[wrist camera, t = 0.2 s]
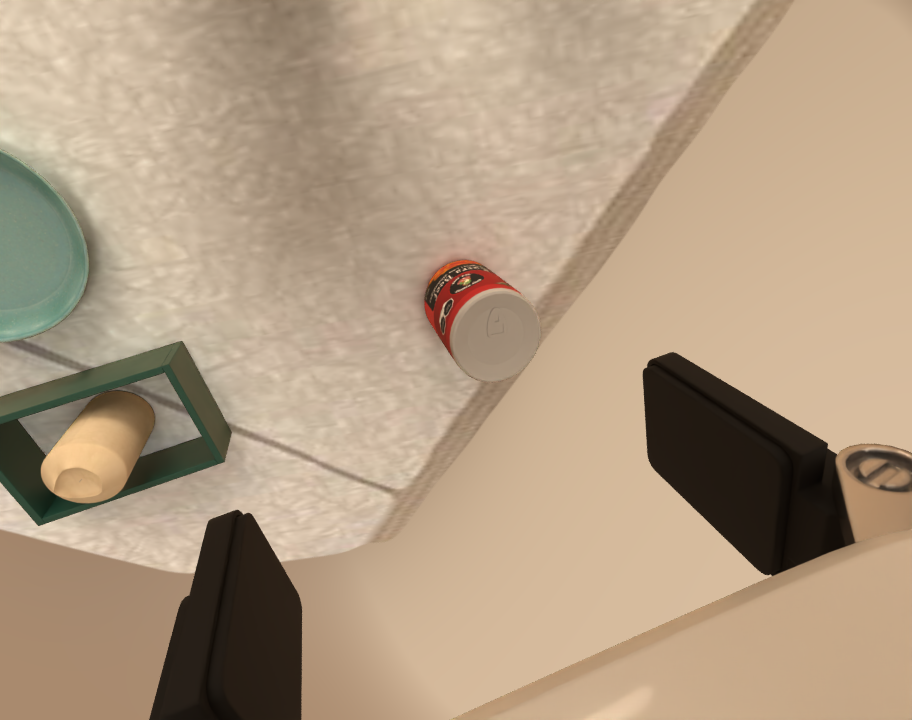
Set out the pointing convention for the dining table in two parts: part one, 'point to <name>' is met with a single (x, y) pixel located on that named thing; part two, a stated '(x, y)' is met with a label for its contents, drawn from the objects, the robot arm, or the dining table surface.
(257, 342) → the dining table surface
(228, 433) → the case
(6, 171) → the saucer
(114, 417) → the candle
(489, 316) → the canned food
